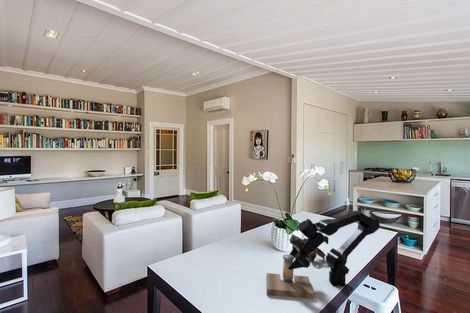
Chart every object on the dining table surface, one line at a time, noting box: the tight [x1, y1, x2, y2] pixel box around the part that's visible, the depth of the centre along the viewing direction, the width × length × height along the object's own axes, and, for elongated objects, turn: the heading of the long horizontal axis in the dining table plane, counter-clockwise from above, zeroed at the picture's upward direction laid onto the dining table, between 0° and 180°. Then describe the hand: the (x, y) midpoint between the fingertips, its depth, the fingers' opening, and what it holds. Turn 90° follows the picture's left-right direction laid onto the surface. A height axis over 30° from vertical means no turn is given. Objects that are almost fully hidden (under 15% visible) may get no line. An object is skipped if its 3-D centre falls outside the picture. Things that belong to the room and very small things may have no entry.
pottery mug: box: [308, 247, 327, 263], centre depth 142 cm, size 12×10×8 cm
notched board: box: [265, 272, 315, 300], centre depth 114 cm, size 20×14×2 cm
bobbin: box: [281, 253, 295, 283], centre depth 117 cm, size 6×6×13 cm
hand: (287, 264), depth 117 cm, fingers open, 9 cm apart
